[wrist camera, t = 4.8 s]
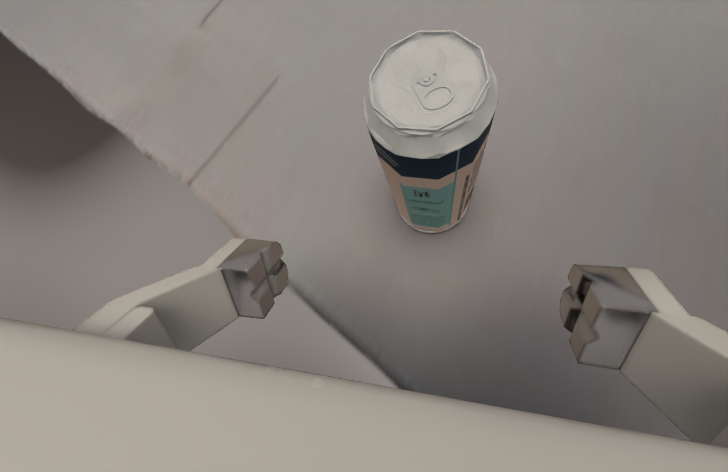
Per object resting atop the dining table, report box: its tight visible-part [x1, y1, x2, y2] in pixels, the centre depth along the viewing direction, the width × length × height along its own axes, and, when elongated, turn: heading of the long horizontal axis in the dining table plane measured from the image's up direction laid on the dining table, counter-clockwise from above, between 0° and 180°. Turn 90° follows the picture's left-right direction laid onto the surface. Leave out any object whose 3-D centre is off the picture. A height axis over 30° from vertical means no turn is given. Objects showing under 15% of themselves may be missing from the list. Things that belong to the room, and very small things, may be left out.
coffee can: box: [363, 30, 498, 233], centre depth 16 cm, size 5×5×12 cm
